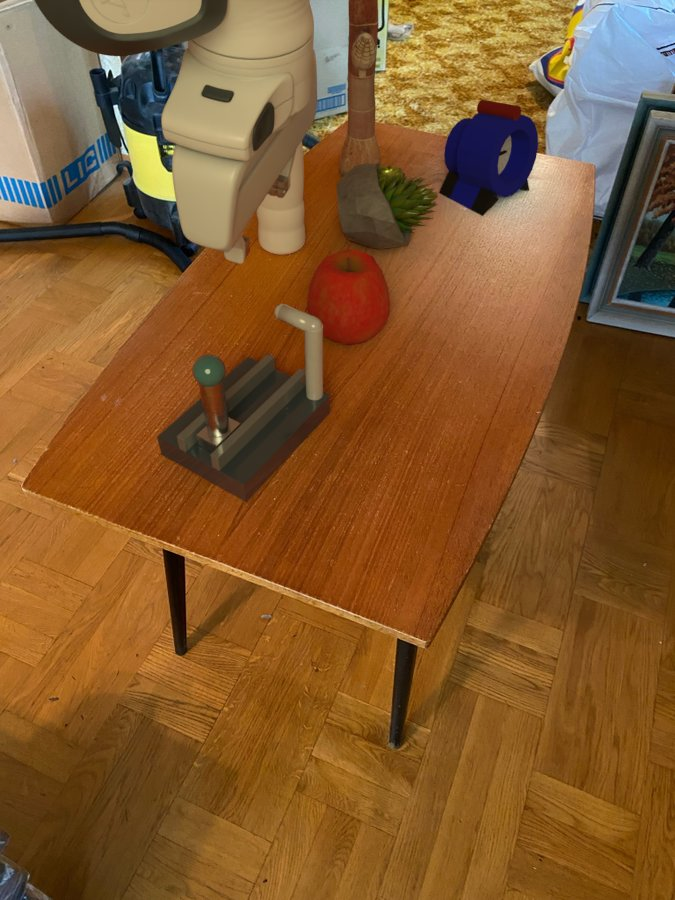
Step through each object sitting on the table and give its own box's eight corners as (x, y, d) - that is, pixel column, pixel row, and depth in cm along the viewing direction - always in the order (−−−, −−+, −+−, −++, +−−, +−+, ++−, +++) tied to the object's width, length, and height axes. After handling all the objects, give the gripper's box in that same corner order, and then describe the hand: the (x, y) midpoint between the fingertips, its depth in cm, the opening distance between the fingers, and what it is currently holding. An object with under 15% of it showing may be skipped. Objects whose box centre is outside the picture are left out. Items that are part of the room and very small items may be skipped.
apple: (327, 294, 100) (327, 225, 92) (400, 313, 97) (406, 244, 89) (294, 339, 93) (291, 269, 85) (372, 361, 90) (376, 291, 82)
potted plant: (346, 187, 113) (440, 169, 109) (353, 267, 112) (448, 251, 108) (324, 156, 101) (429, 134, 97) (331, 245, 101) (437, 226, 97)
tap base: (161, 454, 79) (136, 360, 69) (249, 374, 88) (239, 280, 78) (246, 502, 75) (233, 409, 65) (330, 413, 84) (330, 318, 74)
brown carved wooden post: (346, 157, 127) (351, -42, 104) (386, 163, 126) (399, -37, 103) (329, 185, 120) (330, -21, 98) (371, 192, 119) (382, -15, 96)
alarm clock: (485, 217, 114) (503, 123, 103) (429, 188, 120) (440, 95, 109) (533, 192, 119) (554, 100, 108) (477, 165, 125) (492, 75, 114)
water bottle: (308, 232, 110) (305, 59, 92) (302, 258, 106) (297, 81, 87) (263, 229, 111) (250, 56, 92) (255, 255, 106) (240, 78, 87)
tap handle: (196, 444, 76) (180, 363, 68) (220, 422, 79) (207, 341, 70) (219, 456, 75) (206, 376, 67) (243, 433, 78) (233, 352, 69)
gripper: (266, -4, 58) (269, 150, 69) (147, 132, 47) (175, 288, 58) (339, 13, 57) (331, 166, 68) (236, 155, 46) (247, 309, 57)
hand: (258, 223), depth 63 cm, fingers open, 8 cm apart
